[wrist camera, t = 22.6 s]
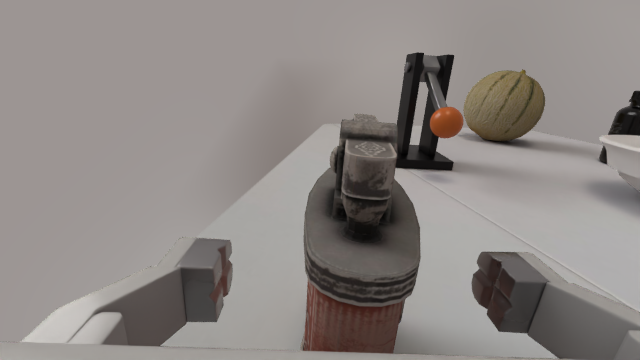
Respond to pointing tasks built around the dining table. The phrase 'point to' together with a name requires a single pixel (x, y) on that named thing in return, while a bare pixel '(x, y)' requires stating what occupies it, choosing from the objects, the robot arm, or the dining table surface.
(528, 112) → the cantaloupe
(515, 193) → the dining table surface
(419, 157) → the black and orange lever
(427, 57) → the switch
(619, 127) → the supplement bottle
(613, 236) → the dining table surface
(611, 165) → the bowl
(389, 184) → the lighter
